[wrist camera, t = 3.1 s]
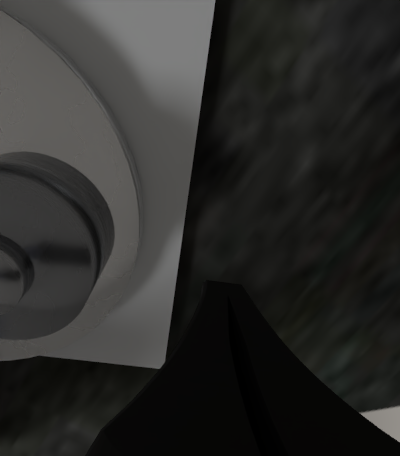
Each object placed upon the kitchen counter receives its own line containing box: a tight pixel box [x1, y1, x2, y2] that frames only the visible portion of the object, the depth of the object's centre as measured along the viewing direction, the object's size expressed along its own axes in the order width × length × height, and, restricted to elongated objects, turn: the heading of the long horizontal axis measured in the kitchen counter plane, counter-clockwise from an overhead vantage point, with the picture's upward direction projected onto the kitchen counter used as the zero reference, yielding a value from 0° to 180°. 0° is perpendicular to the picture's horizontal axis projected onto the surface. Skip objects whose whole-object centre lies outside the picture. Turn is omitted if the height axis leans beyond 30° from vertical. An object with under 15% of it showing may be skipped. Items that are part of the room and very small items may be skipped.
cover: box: [0, 151, 115, 340], centre depth 12 cm, size 7×7×4 cm
